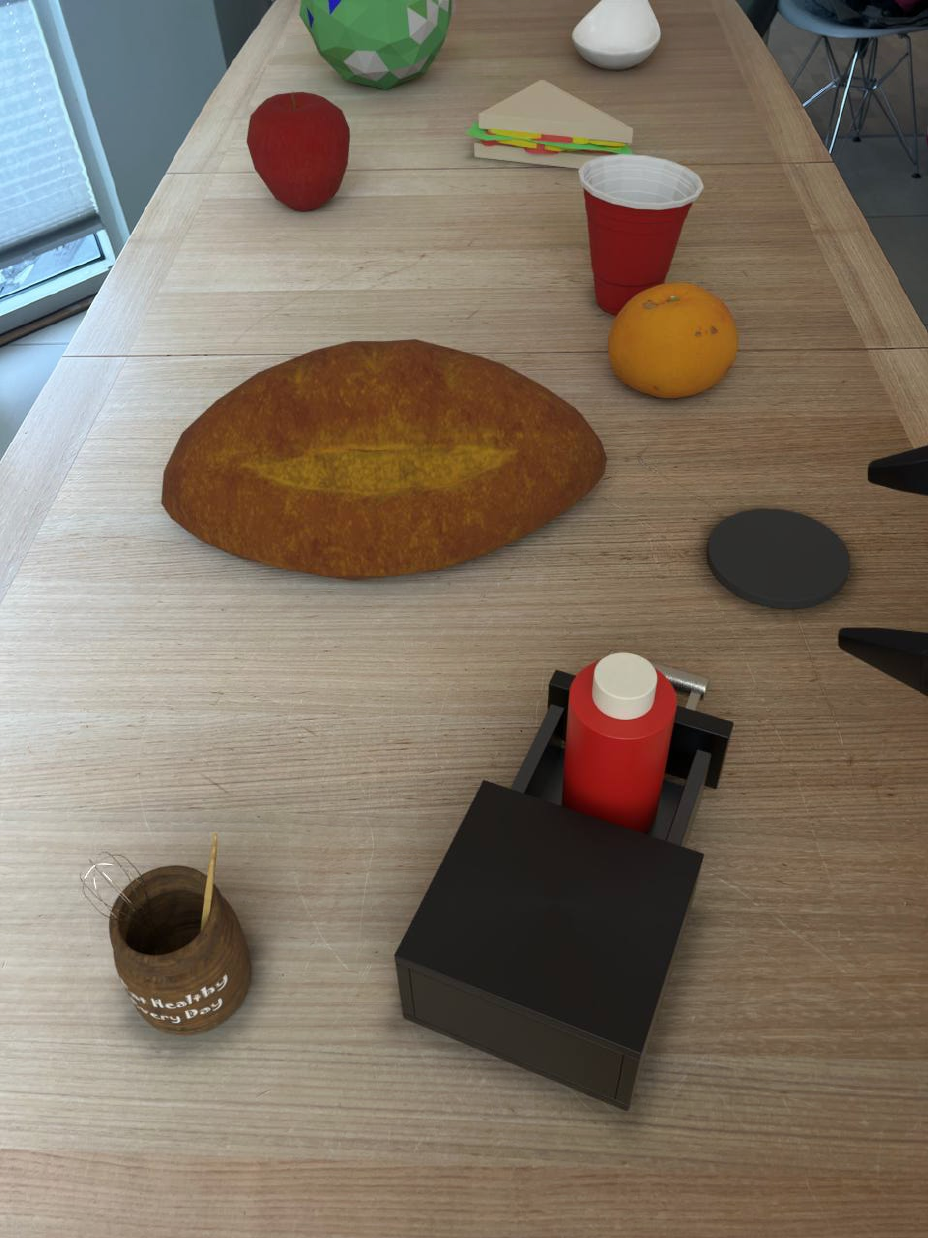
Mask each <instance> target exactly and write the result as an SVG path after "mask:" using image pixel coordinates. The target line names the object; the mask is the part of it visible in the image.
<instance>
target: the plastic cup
mask: <svg viewBox="0 0 928 1238" xmlns="http://www.w3.org/2000/svg"><path fill="white" fill-rule="evenodd" d="M577 171H578V177H579V182H580V186H581V187H582V189H583V197H584V208H585V212H586V219H587V231H588V233H587V234H588V244H589V256H590V267H591V270H592V275H593V287H594V294H595V295H594V296H595V299H596V302H597V306H598V307H600V308H601V310H603V311H604V312H606V313H609V314H611V315H614V316H617V315H618V313H619V312H620V311H621V310H622V308H623V307H624V306H625V304H626V303H627V302H628V301H629V300H631V299H632V298H633V297H634V296H635V295H637V294H639V293H640V292H643V291H645V290H647V289H649V288H652V287H655V286H657V285H661V284H665V283H666V278H667V275H668V273H669V271H670V270H671V269H670V268H671V266H672V262H673V259H674V256H675V252H676V249H677V246H678V243H679V239H680V237H681V233H682V230H683V227H684V223H685V221H686V219H687V217H688V215H689V212H690V210H691V208H692V206H693V204H694V202H696V201H697V200H698V198H699V196H700V195H701V193H702V191H703V190H704V188H705V186H704V184H703V181H702V179H701V177H700V176H699V175H698V174H697V173H696V172H694V171H693V170H691V169H690V168H688V167H687V166H684V165H682V164H681V163H678V162H674V161H671V160H669V159H665V158H660V157H655V156H651V155H646V154H634V155H631V154H617V155H608V156H600V157H598V158H595V159H593V160H590V161H587V162H585V163H584V165H583V166H582V167H581V168H580V169H577Z"/></svg>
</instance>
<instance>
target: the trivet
mask: <svg viewBox="0 0 928 1238" xmlns="http://www.w3.org/2000/svg"><path fill="white" fill-rule="evenodd" d="M707 541H708V542H707V547H706V560H707V564H708V567H709V570H710V571H711V574H712V575H713V577H714V578H715V579H716V581H718V582H719V583H720V584H721V586H723V587H724V588H725V589H727V590H728V591H729V592H731V593H732V594H734V595H735V596H737V597H739V598H741V599H743V600H745V601H748V602H750V603H753V604H756V605H760V606H763V607H768V608H773V609H783V610H792V609H793V610H794V609H796V610H797V609H804V608H810V607H814V606H817V605H820V604H822V603H824V602H826V601H828V600H830V599H833V597H834V596H836V595H837V594H838V593H839V592H840V591H841V590H842V589H843V587H844V585H845V583H846V581H847V579H848V575H849V572H850V568H851V557H850V554H849V551H848V549H847V547H846V545H845V543H844V542H843V540H842V539H841V538H840V536H838V534H836V533H835V531H833V530H832V529H831V528H829V526H827V525H825V524H824V523H822V522H821V521H818V520H817V519H815V518H812V517H810V516H807V515H805V514H803V513H798V512H796V511H792V510H787V509H786V510H785V509H779V508H755V509H754V508H753V509H749V510H744V511H739V512H737V513H735V514H732V515H730V516H728V517H726V518H725V519H723V520H722V521H720V522H719V523H718V524H717V525H715V527H714V529H713V530H712V531H711V534H710V535H709V538H708V540H707Z"/></svg>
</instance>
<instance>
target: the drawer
mask: <svg viewBox="0 0 928 1238" xmlns="http://www.w3.org/2000/svg"><path fill="white" fill-rule="evenodd" d="M614 653H621V652H620V651H617V650H614V649H611V650H609V652H608V654H607V656H608V655H610V654H614ZM647 660H648V659H647ZM648 661H649V662H650V663H651V664H652V665H653V667H654V668H656V669H657V670H659V671H660V672H661V673H662V674H663V675H664V676H666V678H667V679H668V680H669V681H670V683H671V684H672V686H673V688H674V691H675V693H676V695H680V696H684V697H687V701H686V703H685V706H682V705H681V706H680V705H677V707H676V713H675V719H674V724H673V729H672V735H671V740H670V746H669V751H668V757H667V762H666V768H665V773H664V774H666V775H669V776H673V777H675V778H679V779H682V780H685V781H684V785H681V784H678V783H675V782H671V781H669V780H665V779H663V784H662V790H661V795H660V801H659V806H658V812H657V816H656V819H655V821H654V824H653V825H652V827H651V828H650V829H649V830H648V831H647V832H646V833H645V834H647V835H650V836H653V837H656V838H659V839H661V840H664V841H667V842H670V843H673V844H676V845H679V846H682V847H685V848H687V844H688V841H689V838H690V836H691V832H692V829H693V825H694V823H695V819H696V817H697V814H698V812H699V808H700V805H701V801H702V797H703V793H704V789H705V787H706V788H709V789H714V790H717V789H718V786H719V783H720V780H721V777H722V773H723V769H724V767H725V766H724V765H725V762H726V758H727V753H728V749H729V746H730V740H731V736H732V733H733V729H734V725H735V723H734V721H732V720H728V719H725V718H721V717H718V716H714V715H711V714H708V713H704V712H701V711H697V710H698V706H699V704H700V701H701V702H704V701H705V700H706V697H707V694H708V690H709V687H710V682H711V678H710V677H708V676H704V675H701V674H697V673H695V672H694V673H693V672H690V671H687V670H683V669H681V668H676V667H673V666H669V665H666V664H663V663H659V662H655V661H652V660H648ZM576 676H577V674H576V675H575V674H573V673H569V672H565V671H563V670H558V669H555V670H554V672H553V674H552V676H551V678H550V680H549V682H548V690H547V691H548V692H547V693H548V694H547V711H546V713H545V716H544V718H543V719H542V722H541V724H540V726H539V727H538V730H537V732H536V734H535V736H534V739H533V740H532V742H531V745H530V746H529V748H528V751H527V753H526V755H525V757H524V759H523V761H522V763H521V765H520V767H519V769H518V771H517V774H516V776H515V777H514V780H513V782H512V784H511V786H510V787H509V789H512V790H515V791H518V792H521V793H524V794H527V795H530V796H533V797H536V798H539V799H542V800H545V801H548V802H551V803H554V804H557V805H560V806H562V790H563V775H564V761H565V748H564V747H563V742H564V743H566V733H567V719H568V705H569V692H570V687H571V684H572V682H573V680H574V678H575V677H576Z"/></svg>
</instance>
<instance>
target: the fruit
mask: <svg viewBox="0 0 928 1238" xmlns="http://www.w3.org/2000/svg"><path fill="white" fill-rule="evenodd" d="M607 341H608V342H607V354H608V358H609V362H610V365H611V367H612V370H613V372H614V373H615V375H616V377H617V378H618V379H619V380H620V381H622V383H623V384H625V385H626V386H628V387H630V388H632V389H633V390H635V391H638V392H640V393H643V394H646V395H650V396H653V397H656V398H659V399H660V398H661V399H678V398H686V397H690V396H694V395H697V394H700V393H702V392H705V391H706V390H708V389H711V388H712V387H714V386H715V385H716V384H718V383H719V382H721V381H722V379H724V378H725V377H726V375H727V374H728V373H729V371H730V370H731V369H732V367H733V365H734V363H735V361H736V358H737V355H738V349H739V334H738V329H737V326H736V323H735V320H734V318H733V315H732V313H731V311H730V309H729V308H728V305H726V303H725V302H724V301H723V300H722V299H720V298H719V297H718V296H716V295H715V294H713V293H712V292H710V291H708V290H706V289H705V288H703V287H701V286H699V285H697V284H693V283H690V282H685V281H677V282H674V281H673V282H664V284H661V285H657V286H655V287H652V288H649V289H647V290H645V291H643V292H640V293H639V294H637V295H635V296H634V297H633V298H632V299H631V300H629V301H628V302H627V303H626V304H625V306H624V307H623V308H622V310H621V311H620V312H619V313H618V315H615V317H614V320H613V321H612V324H611V325H610V329H609V333H608V340H607Z"/></svg>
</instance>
